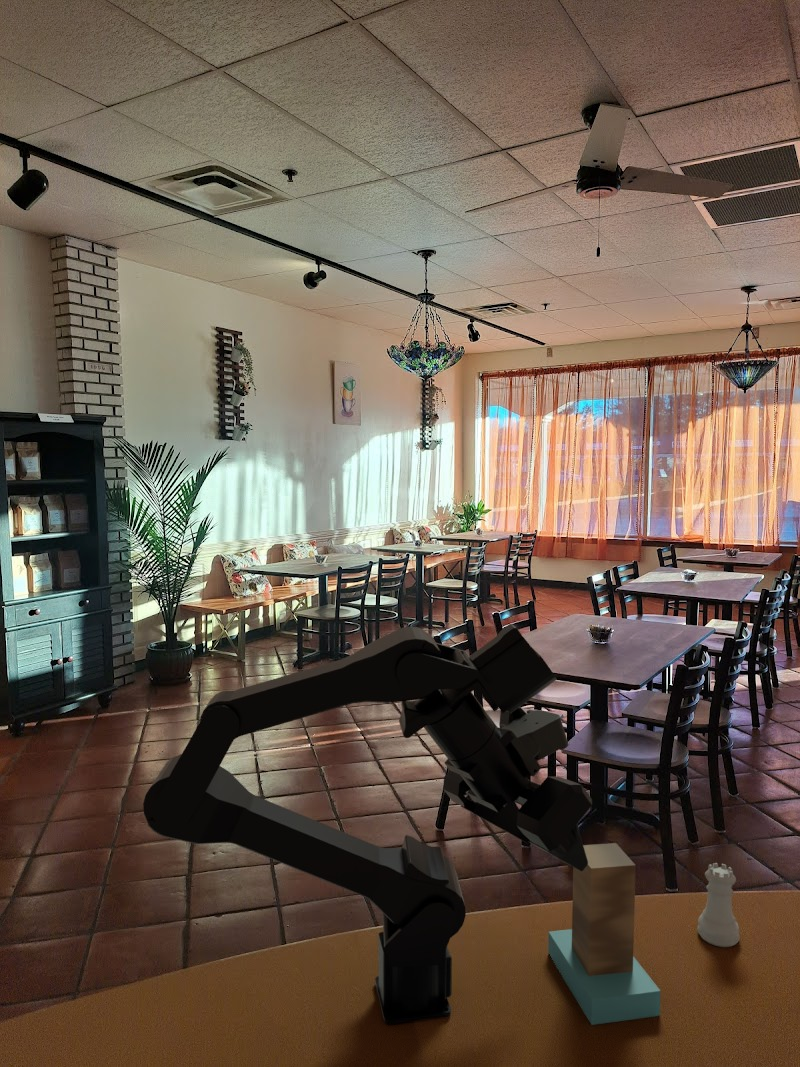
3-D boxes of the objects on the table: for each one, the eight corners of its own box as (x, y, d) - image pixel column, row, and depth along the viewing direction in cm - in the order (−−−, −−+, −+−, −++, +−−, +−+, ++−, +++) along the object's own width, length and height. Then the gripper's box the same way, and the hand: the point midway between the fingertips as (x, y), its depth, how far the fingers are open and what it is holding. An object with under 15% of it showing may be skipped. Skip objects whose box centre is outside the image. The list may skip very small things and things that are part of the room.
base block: (591, 1025, 72) (592, 999, 72) (548, 953, 83) (548, 931, 83) (659, 1015, 74) (660, 990, 73) (608, 946, 84) (608, 924, 84)
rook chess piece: (732, 926, 88) (734, 859, 88) (745, 950, 84) (748, 880, 83) (692, 924, 89) (694, 857, 88) (703, 947, 84) (705, 877, 84)
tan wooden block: (588, 975, 76) (591, 868, 75) (571, 947, 80) (573, 846, 79) (632, 971, 76) (635, 865, 76) (613, 943, 81) (615, 843, 80)
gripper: (581, 694, 69) (668, 817, 72) (476, 673, 86) (550, 774, 89) (501, 784, 65) (597, 911, 68) (406, 744, 82) (487, 847, 85)
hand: (555, 852), depth 78 cm, fingers open, 9 cm apart
